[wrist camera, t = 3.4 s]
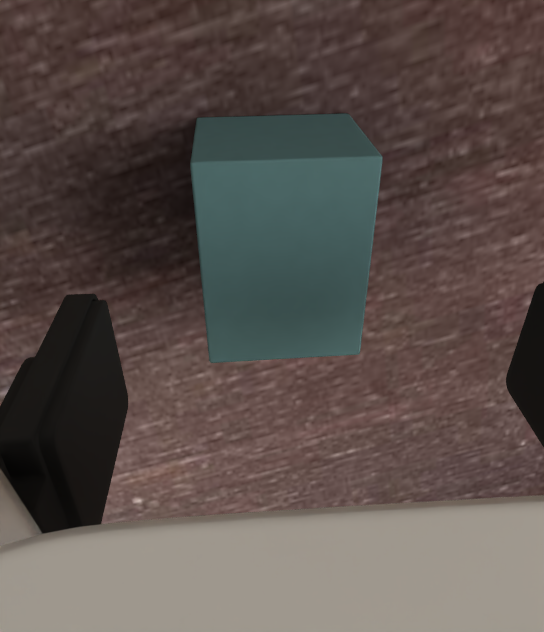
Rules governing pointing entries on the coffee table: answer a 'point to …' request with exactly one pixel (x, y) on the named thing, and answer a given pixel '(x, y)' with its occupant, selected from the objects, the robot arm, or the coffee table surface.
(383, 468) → the coffee table surface
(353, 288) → the teal rectangular block
